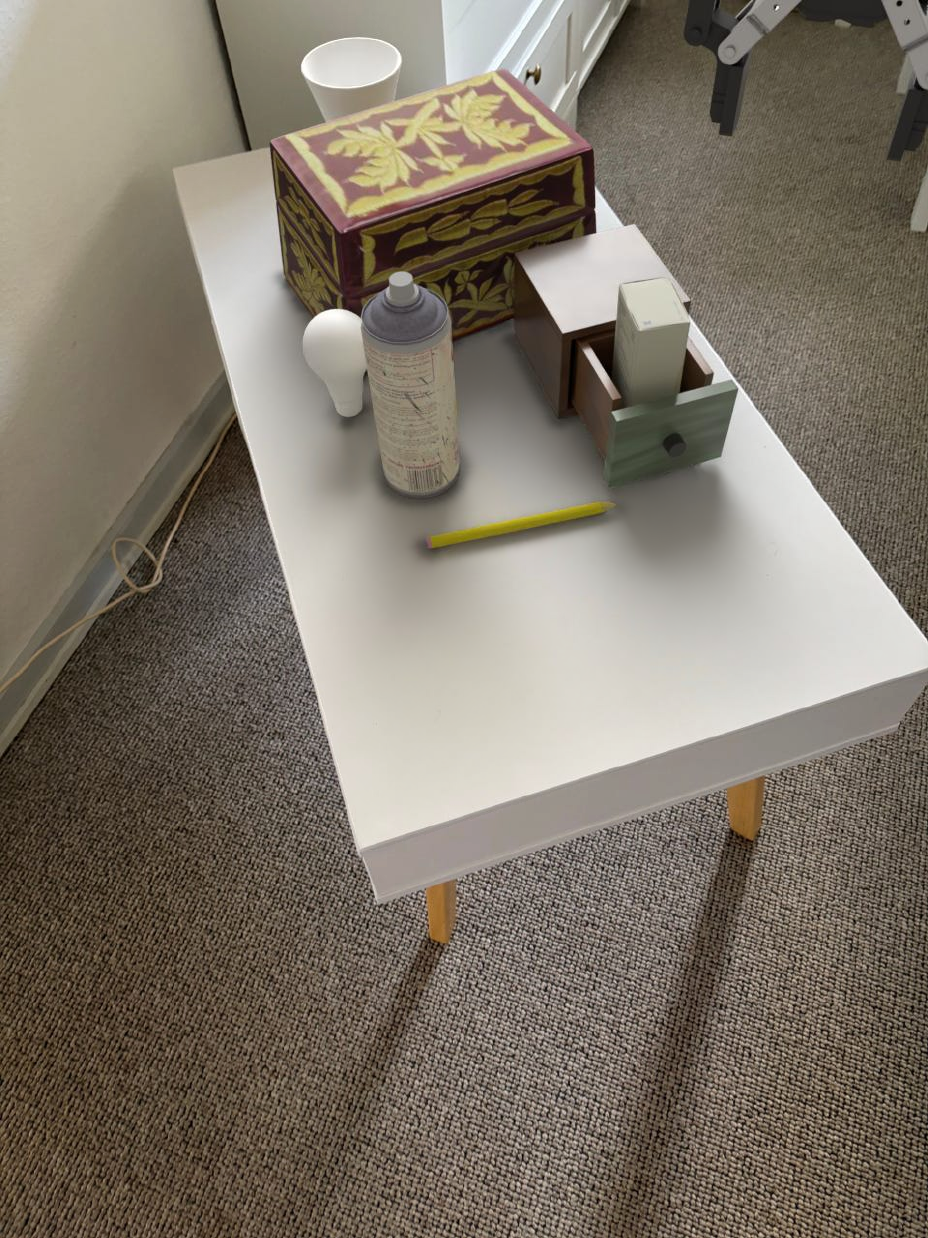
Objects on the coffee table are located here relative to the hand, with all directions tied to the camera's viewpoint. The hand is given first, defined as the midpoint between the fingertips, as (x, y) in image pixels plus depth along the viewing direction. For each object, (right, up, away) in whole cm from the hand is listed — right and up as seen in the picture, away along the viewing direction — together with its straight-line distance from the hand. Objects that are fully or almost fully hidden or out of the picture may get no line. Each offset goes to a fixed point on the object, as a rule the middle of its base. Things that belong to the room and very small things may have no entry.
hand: (810, 140), depth 51 cm
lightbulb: (-29, -6, +40) cm, 50 cm away
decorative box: (-21, +10, +51) cm, 56 cm away
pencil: (-13, -17, +32) cm, 38 cm away
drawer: (-2, -9, +36) cm, 37 cm away
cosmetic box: (-3, -7, +36) cm, 37 cm away
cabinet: (-6, 0, +43) cm, 43 cm away
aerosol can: (-22, -12, +36) cm, 44 cm away
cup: (-29, +25, +61) cm, 72 cm away
